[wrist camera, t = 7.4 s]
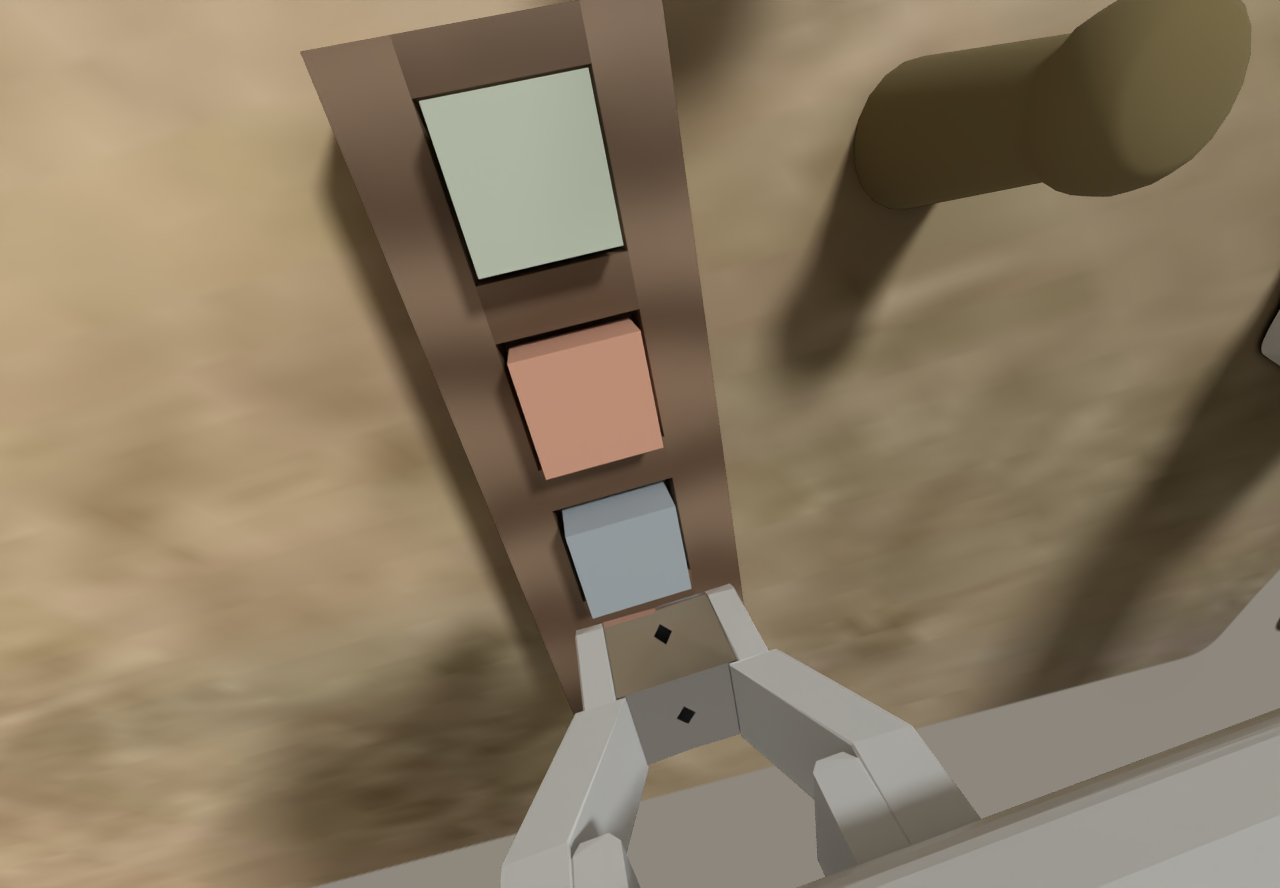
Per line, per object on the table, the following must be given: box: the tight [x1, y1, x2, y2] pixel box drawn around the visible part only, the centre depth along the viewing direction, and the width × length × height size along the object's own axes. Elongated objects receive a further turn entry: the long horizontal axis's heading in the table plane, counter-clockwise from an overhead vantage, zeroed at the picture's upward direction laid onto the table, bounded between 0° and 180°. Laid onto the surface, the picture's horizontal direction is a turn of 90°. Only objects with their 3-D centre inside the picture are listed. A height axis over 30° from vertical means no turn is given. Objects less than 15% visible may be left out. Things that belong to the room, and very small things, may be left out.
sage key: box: [419, 68, 623, 279], centre depth 17 cm, size 5×5×2 cm
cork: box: [854, 0, 1251, 209], centre depth 18 cm, size 6×6×11 cm
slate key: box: [562, 480, 692, 619], centre depth 24 cm, size 5×5×2 cm
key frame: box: [300, 0, 744, 715], centre depth 24 cm, size 33×11×4 cm, turn 11°
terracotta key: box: [507, 317, 664, 480], centre depth 20 cm, size 5×5×2 cm
